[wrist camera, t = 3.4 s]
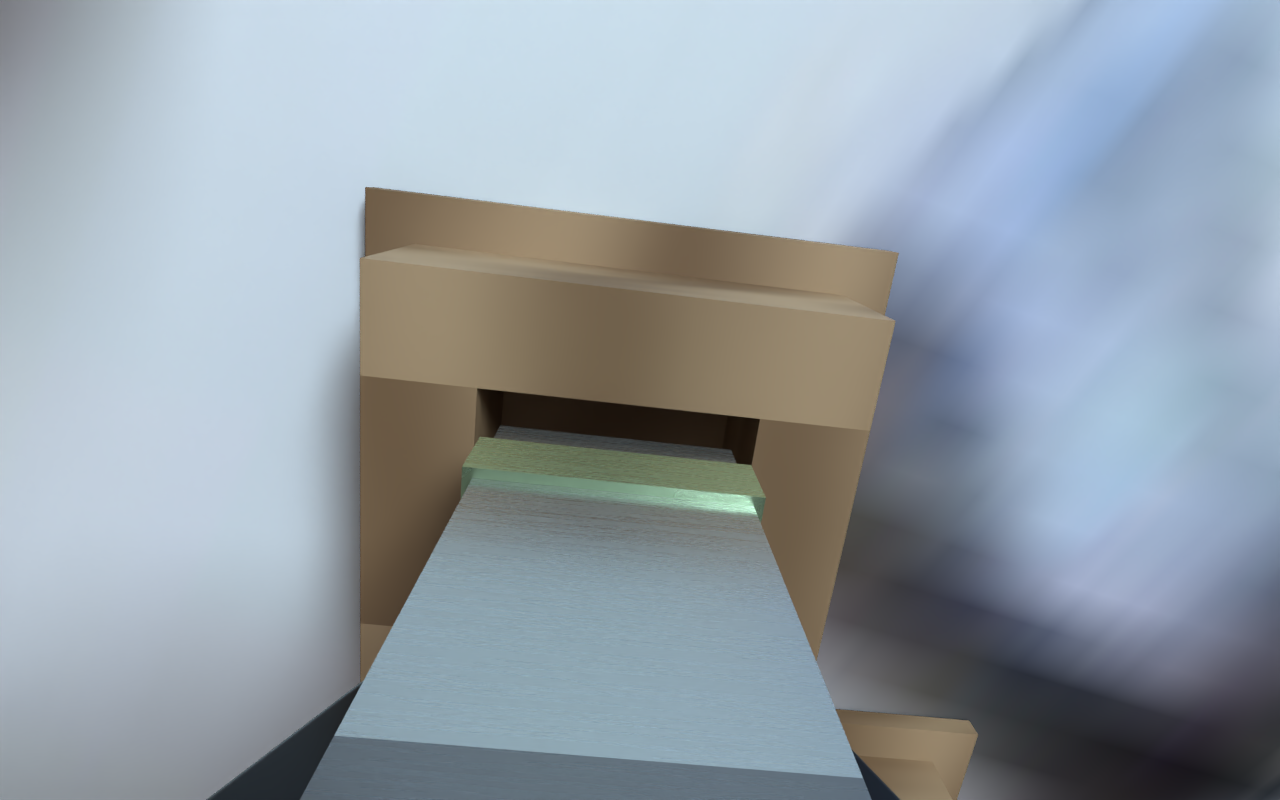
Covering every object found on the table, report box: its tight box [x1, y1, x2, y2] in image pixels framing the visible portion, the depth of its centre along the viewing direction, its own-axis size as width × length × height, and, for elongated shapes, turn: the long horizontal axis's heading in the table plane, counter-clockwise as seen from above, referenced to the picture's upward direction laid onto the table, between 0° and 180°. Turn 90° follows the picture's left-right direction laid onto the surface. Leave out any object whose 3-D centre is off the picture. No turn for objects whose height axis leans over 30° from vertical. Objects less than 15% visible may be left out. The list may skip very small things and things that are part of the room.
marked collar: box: [360, 187, 899, 683], centre depth 14 cm, size 11×11×4 cm
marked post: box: [300, 425, 872, 800], centre depth 9 cm, size 4×4×8 cm
